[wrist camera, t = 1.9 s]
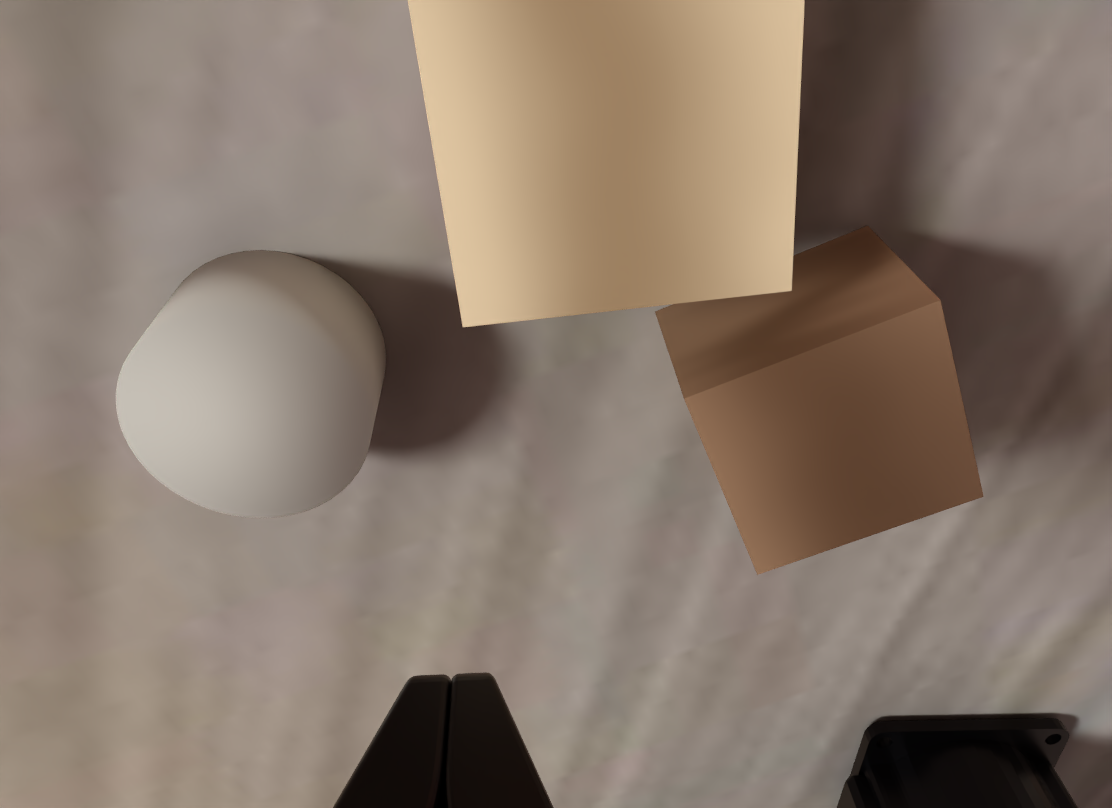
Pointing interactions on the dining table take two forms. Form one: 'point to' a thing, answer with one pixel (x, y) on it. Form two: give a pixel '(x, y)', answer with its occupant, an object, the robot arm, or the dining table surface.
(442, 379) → the dining table surface
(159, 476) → the grey rounded cylinder
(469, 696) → the robot arm
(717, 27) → the maple block
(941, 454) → the walnut block
